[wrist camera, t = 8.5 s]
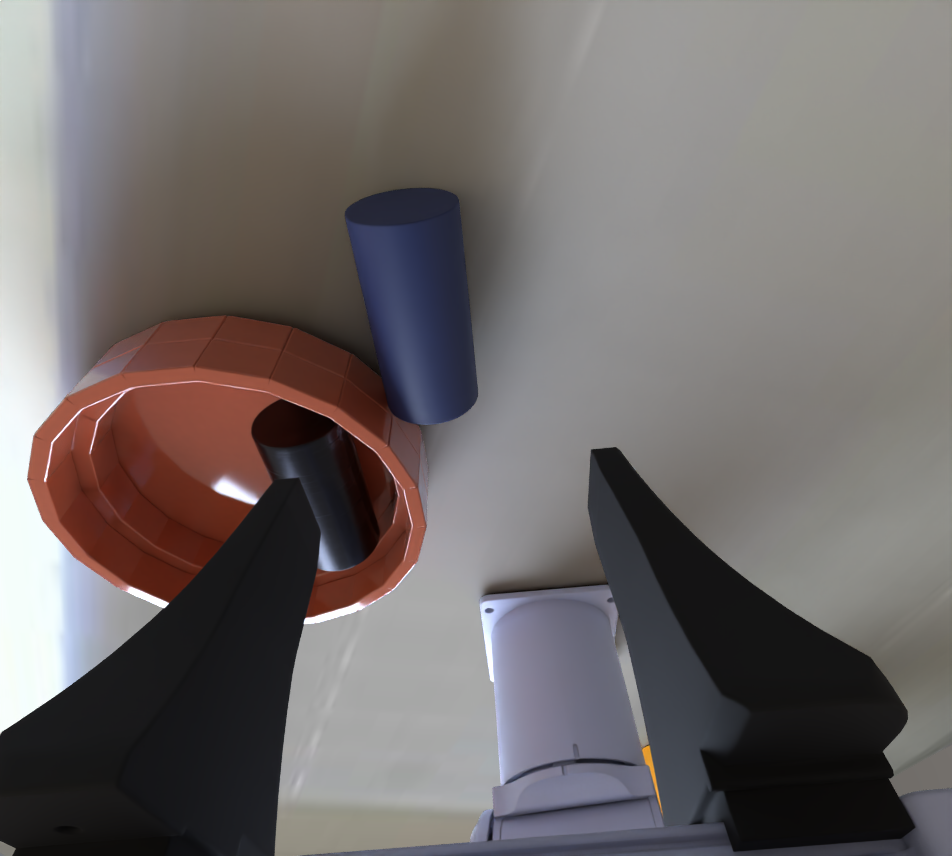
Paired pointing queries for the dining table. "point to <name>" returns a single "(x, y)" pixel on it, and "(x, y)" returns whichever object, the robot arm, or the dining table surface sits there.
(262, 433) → the black cylinder
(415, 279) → the navy tube
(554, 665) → the robot arm
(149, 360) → the bowl
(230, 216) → the dining table surface
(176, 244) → the dining table surface
